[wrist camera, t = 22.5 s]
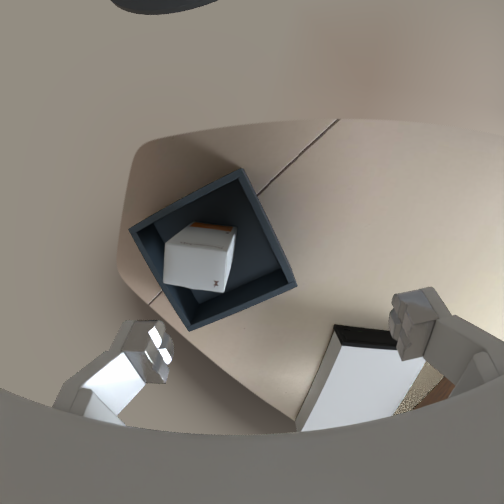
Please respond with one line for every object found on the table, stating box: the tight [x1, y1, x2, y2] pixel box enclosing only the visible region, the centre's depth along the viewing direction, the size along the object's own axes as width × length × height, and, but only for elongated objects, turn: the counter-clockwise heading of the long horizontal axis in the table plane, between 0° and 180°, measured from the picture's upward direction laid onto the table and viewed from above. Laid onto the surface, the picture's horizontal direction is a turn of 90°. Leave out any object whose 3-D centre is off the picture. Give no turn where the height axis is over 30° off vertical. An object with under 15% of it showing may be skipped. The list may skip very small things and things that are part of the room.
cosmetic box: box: [163, 221, 237, 293], centre depth 31 cm, size 6×4×12 cm
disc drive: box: [295, 325, 426, 432], centre depth 43 cm, size 18×22×5 cm
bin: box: [128, 168, 297, 332], centre depth 35 cm, size 15×15×7 cm
